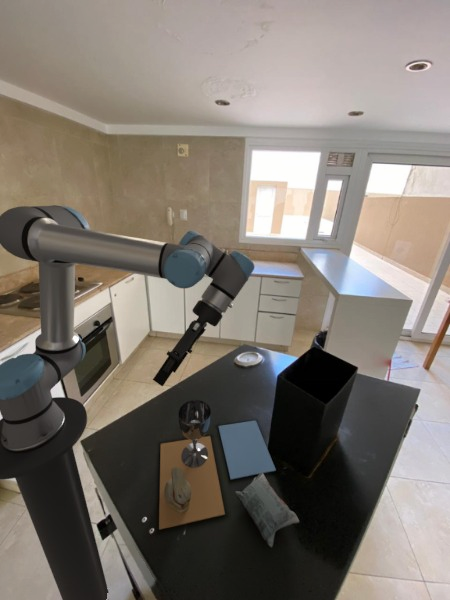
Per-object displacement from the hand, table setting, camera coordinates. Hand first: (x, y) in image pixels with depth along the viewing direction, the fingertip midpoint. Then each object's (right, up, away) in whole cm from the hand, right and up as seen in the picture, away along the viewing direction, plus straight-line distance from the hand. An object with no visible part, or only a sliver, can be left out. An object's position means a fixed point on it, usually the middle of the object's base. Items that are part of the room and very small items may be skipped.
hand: (165, 375), depth 64 cm
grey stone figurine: (+4, -26, -7) cm, 27 cm away
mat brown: (+6, -24, -1) cm, 25 cm away
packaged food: (+24, -28, -8) cm, 38 cm away
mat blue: (+21, -22, +7) cm, 31 cm away
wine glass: (+7, -22, +4) cm, 24 cm away
